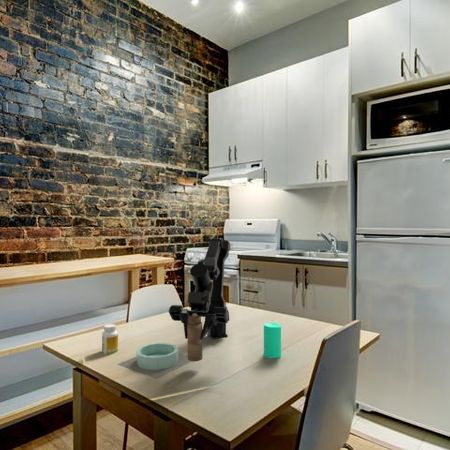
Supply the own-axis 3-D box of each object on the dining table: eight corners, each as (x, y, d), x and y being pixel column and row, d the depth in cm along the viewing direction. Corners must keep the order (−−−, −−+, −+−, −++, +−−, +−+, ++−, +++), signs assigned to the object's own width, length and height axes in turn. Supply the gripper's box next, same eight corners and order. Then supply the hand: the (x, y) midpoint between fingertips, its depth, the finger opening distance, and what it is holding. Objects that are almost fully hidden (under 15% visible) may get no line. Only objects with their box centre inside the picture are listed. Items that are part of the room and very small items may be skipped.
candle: (270, 359, 118) (270, 323, 118) (260, 353, 123) (260, 319, 123) (284, 356, 120) (284, 321, 120) (274, 350, 126) (274, 317, 126)
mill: (199, 354, 112) (199, 310, 111) (204, 359, 107) (204, 313, 107) (185, 357, 110) (185, 312, 109) (190, 362, 105) (190, 315, 105)
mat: (158, 349, 127) (158, 347, 127) (196, 360, 117) (196, 358, 117) (117, 366, 112) (117, 364, 112) (157, 380, 102) (157, 378, 102)
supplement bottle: (121, 351, 125) (121, 324, 125) (111, 356, 120) (111, 328, 120) (108, 349, 127) (108, 322, 127) (98, 354, 122) (98, 327, 122)
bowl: (171, 351, 123) (171, 340, 123) (182, 365, 112) (182, 353, 112) (133, 357, 118) (133, 346, 118) (141, 372, 106) (141, 360, 106)
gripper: (170, 280, 114) (157, 324, 103) (226, 282, 110) (219, 327, 100) (178, 299, 122) (167, 341, 111) (231, 301, 118) (224, 345, 107)
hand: (193, 338), depth 107 cm, fingers closed on mill, 5 cm apart
